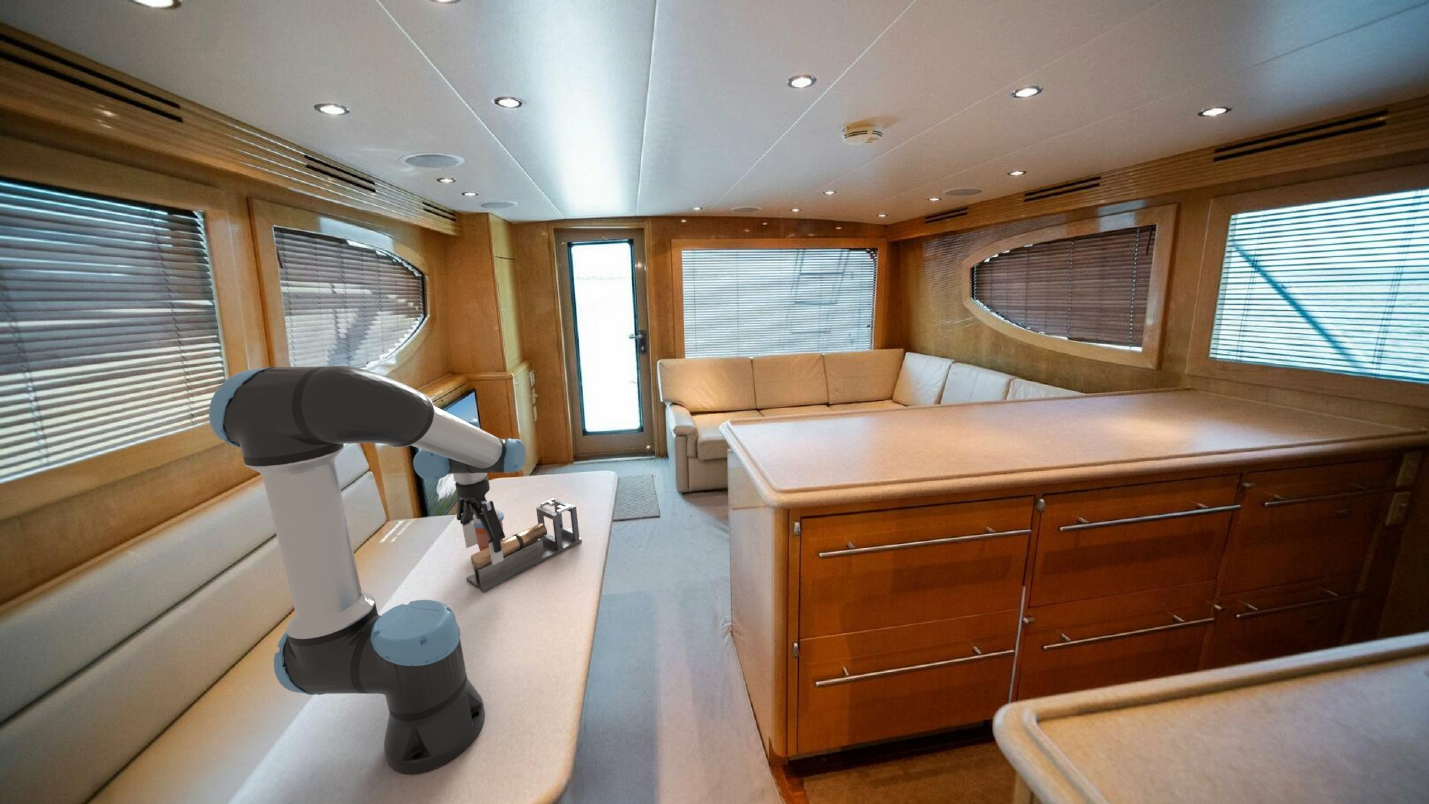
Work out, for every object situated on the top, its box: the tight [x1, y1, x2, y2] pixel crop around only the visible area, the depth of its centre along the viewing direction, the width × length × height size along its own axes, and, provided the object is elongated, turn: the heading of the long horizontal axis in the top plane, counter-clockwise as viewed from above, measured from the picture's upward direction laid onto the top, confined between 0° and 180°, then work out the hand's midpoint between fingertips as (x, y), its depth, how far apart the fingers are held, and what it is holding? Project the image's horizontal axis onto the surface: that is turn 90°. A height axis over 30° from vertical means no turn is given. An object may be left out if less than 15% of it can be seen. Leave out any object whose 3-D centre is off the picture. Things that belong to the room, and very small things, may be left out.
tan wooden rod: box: [470, 523, 548, 569], centre depth 133 cm, size 20×4×4 cm, turn 142°
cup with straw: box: [470, 506, 505, 551], centre depth 141 cm, size 9×9×18 cm
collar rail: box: [465, 497, 583, 594], centre depth 136 cm, size 30×9×13 cm, turn 142°
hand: (484, 553), depth 127 cm, fingers open, 13 cm apart
